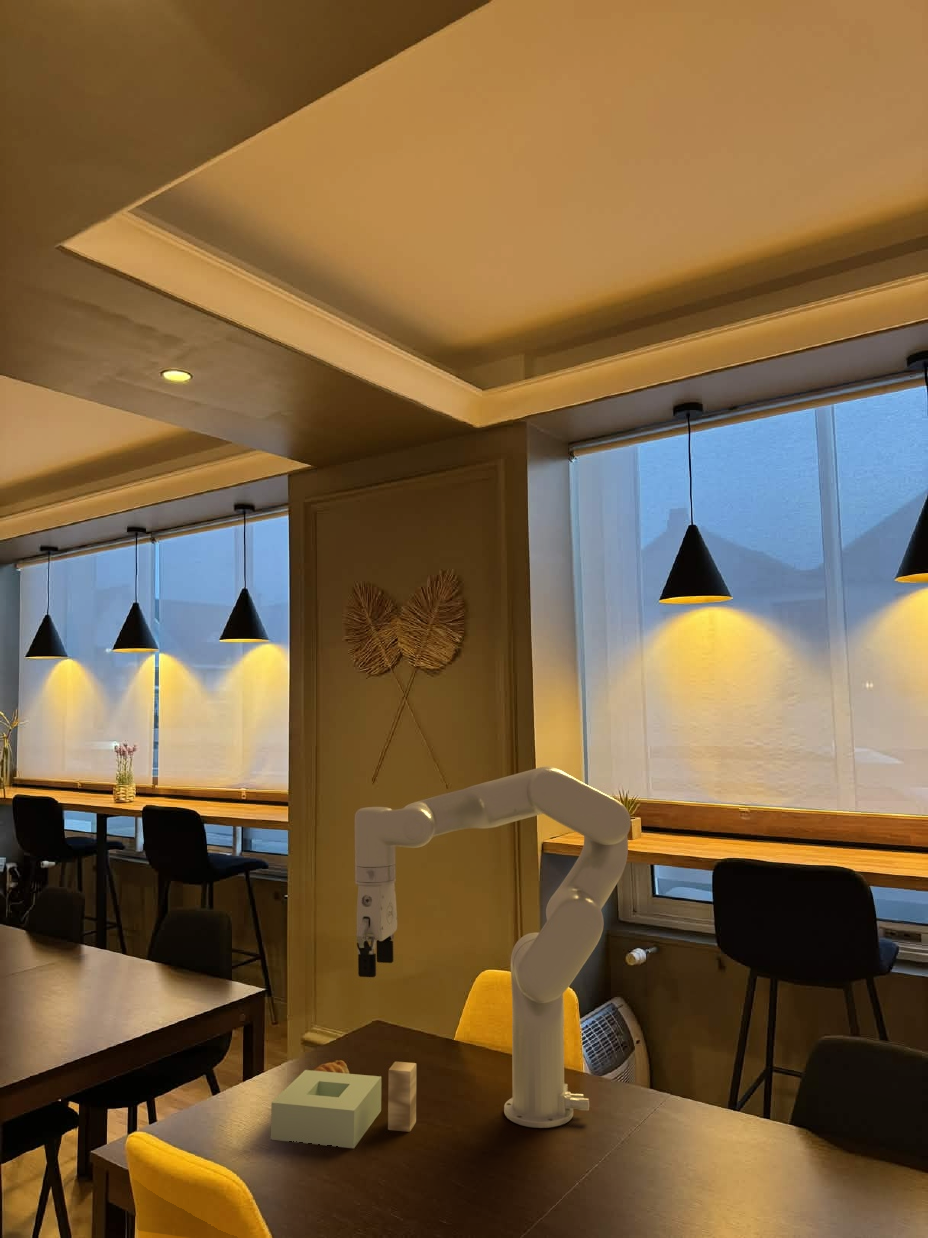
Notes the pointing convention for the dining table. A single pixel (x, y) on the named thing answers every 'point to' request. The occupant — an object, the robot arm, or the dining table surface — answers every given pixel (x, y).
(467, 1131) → the dining table surface
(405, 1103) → the birch block
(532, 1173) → the dining table surface
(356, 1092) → the well block
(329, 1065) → the pastry
